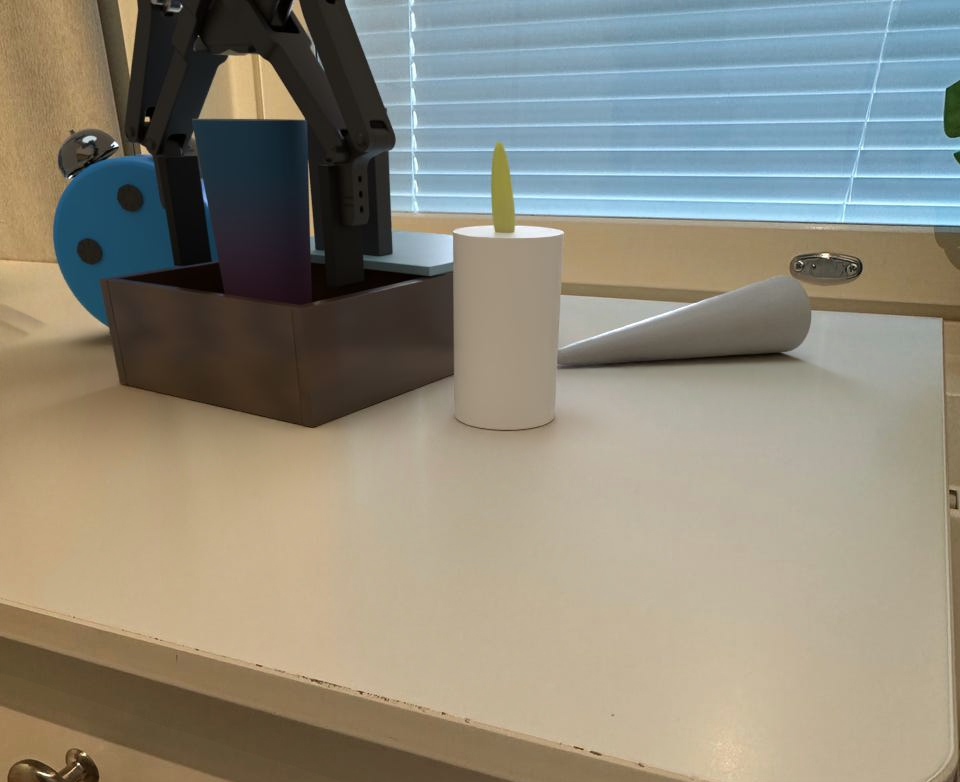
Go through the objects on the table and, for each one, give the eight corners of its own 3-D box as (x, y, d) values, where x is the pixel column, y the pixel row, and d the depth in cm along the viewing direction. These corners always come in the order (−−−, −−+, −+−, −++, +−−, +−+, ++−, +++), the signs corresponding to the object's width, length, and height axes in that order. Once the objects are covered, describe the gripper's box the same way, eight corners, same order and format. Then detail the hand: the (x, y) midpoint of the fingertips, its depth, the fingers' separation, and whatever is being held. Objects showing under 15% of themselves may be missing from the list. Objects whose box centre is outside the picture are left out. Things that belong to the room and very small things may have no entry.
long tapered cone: (588, 323, 60) (813, 275, 65) (544, 317, 65) (756, 274, 71) (594, 408, 62) (810, 355, 68) (552, 396, 68) (755, 348, 73)
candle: (577, 414, 56) (595, 141, 48) (505, 436, 52) (511, 142, 44) (505, 394, 59) (511, 138, 52) (433, 413, 56) (428, 139, 48)
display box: (119, 383, 61) (98, 278, 57) (378, 315, 82) (374, 235, 78) (312, 427, 53) (301, 308, 49) (544, 339, 74) (548, 251, 70)
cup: (208, 369, 61) (171, 118, 54) (293, 354, 65) (270, 118, 58) (257, 389, 57) (225, 120, 49) (346, 372, 61) (328, 120, 53)
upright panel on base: (243, 254, 67) (225, 106, 62) (369, 235, 78) (363, 107, 73) (429, 276, 59) (426, 107, 54) (541, 251, 70) (546, 109, 65)
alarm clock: (251, 329, 76) (227, 128, 69) (237, 345, 71) (209, 130, 63) (97, 328, 76) (56, 127, 68) (72, 345, 71) (24, 128, 63)
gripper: (13, -142, 50) (94, 262, 61) (357, -210, 39) (381, 302, 49) (123, -117, 55) (179, 250, 66) (453, -170, 44) (455, 284, 55)
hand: (265, 273), depth 58 cm, fingers open, 13 cm apart
